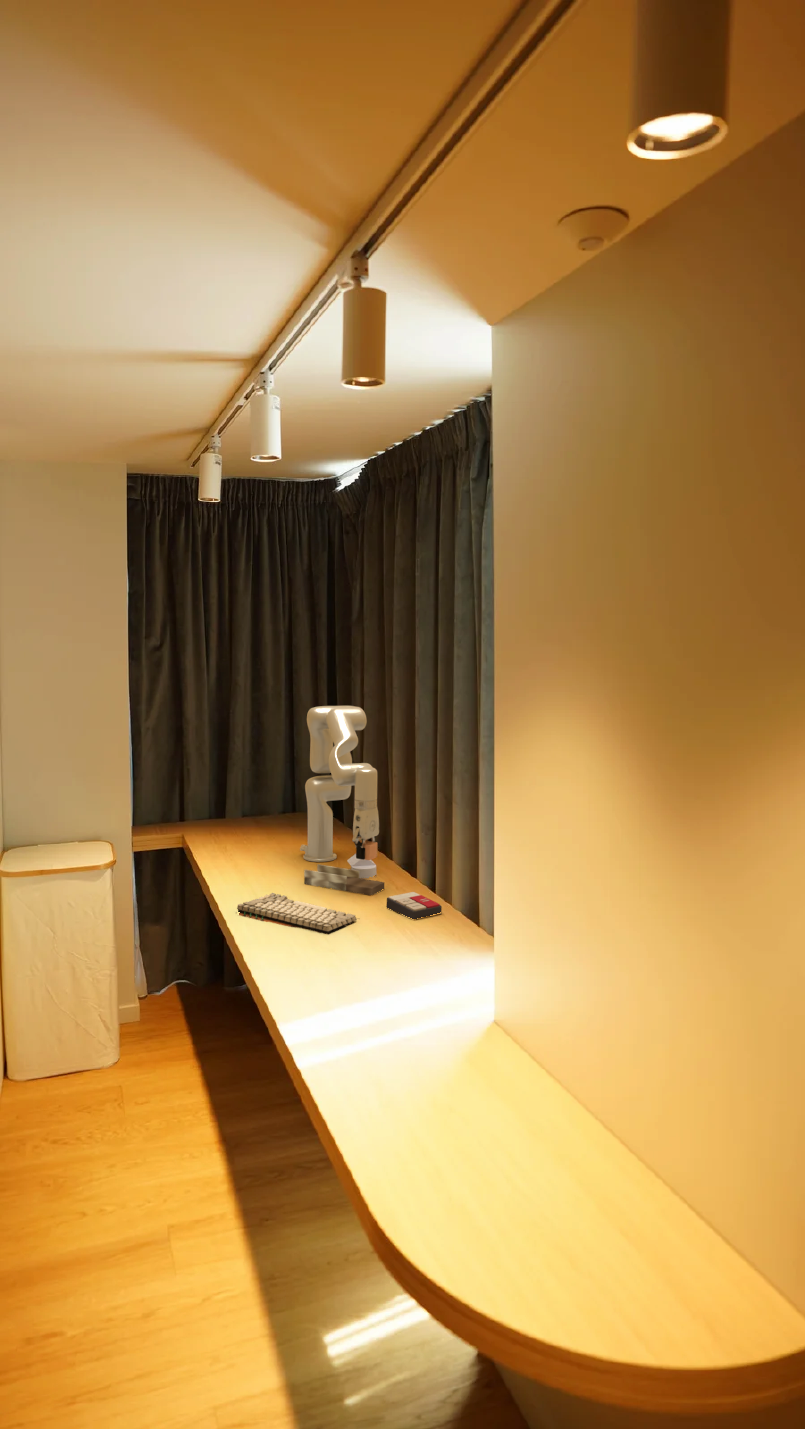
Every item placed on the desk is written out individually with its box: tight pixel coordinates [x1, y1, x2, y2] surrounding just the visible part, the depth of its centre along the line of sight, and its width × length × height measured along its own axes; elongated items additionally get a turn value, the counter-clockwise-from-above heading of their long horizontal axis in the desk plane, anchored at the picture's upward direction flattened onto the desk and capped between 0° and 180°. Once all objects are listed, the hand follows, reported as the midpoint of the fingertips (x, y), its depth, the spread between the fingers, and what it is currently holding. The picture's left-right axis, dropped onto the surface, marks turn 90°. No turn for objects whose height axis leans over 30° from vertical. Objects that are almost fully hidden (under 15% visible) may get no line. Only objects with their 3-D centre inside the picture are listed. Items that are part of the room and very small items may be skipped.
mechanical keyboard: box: [236, 892, 359, 936], centre depth 298 cm, size 38×19×3 cm, turn 57°
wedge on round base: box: [346, 853, 377, 879], centre depth 347 cm, size 9×7×13 cm
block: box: [360, 840, 378, 861], centre depth 325 cm, size 5×5×5 cm
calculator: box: [386, 891, 443, 920], centre depth 304 cm, size 11×4×15 cm
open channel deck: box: [303, 864, 385, 896], centre depth 330 cm, size 27×9×5 cm, turn 61°
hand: (364, 856), depth 326 cm, fingers closed on block, 5 cm apart
